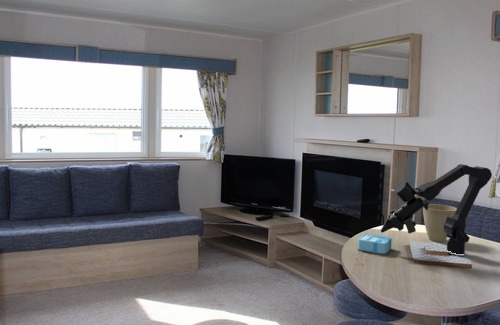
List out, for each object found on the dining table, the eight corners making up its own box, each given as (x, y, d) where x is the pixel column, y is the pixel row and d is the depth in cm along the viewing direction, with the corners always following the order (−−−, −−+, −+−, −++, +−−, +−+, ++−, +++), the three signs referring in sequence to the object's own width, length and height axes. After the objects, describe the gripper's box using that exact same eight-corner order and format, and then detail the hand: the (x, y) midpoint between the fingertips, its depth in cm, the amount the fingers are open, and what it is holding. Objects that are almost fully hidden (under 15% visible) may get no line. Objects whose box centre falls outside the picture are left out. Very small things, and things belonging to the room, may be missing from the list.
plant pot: (425, 243, 218) (427, 209, 216) (417, 235, 232) (419, 203, 231) (458, 245, 216) (461, 211, 214) (449, 237, 231) (451, 204, 229)
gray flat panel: (388, 248, 208) (388, 247, 208) (381, 254, 199) (381, 253, 199) (365, 244, 214) (365, 243, 214) (357, 249, 204) (357, 249, 204)
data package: (385, 243, 197) (357, 239, 203) (385, 254, 197) (357, 249, 203) (392, 237, 207) (365, 233, 213) (391, 247, 208) (364, 243, 214)
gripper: (424, 228, 188) (394, 252, 193) (422, 218, 206) (394, 240, 210) (405, 207, 190) (375, 231, 194) (404, 199, 207) (376, 221, 212)
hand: (381, 231), depth 202 cm, fingers closed
